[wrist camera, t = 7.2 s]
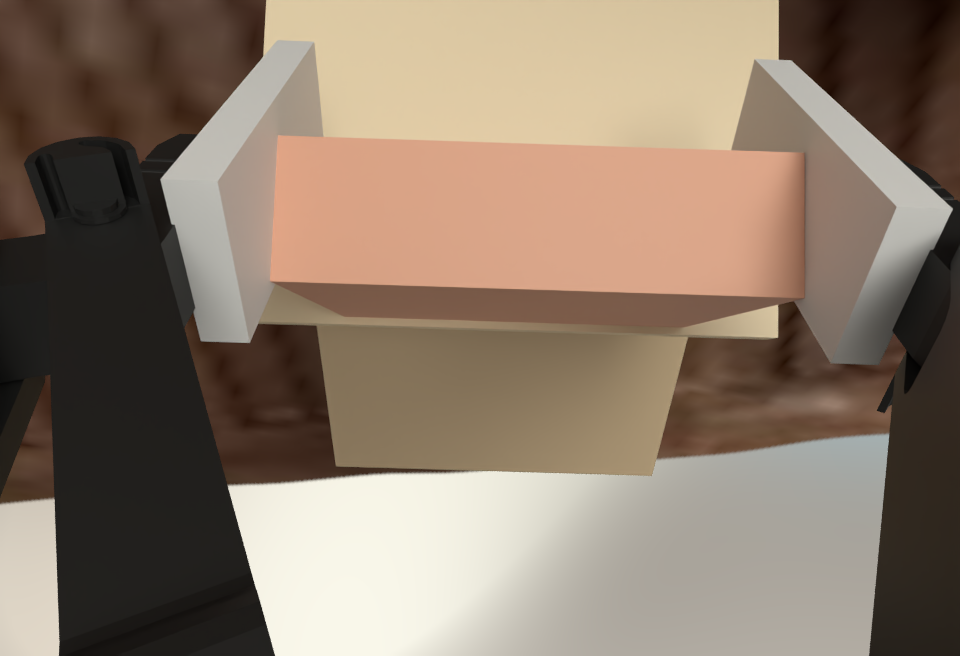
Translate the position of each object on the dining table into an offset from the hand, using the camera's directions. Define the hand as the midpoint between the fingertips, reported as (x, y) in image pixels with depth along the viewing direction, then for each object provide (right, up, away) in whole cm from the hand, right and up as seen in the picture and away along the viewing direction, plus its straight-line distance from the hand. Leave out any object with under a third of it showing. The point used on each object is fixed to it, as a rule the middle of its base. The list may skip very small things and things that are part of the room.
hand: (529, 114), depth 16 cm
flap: (0, 0, +5) cm, 5 cm away
